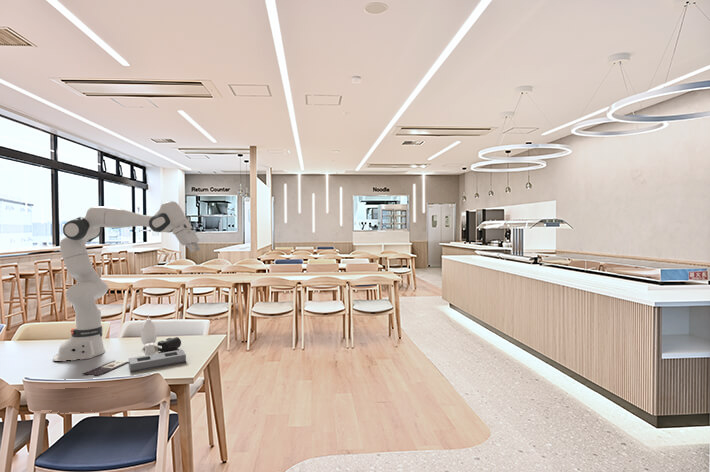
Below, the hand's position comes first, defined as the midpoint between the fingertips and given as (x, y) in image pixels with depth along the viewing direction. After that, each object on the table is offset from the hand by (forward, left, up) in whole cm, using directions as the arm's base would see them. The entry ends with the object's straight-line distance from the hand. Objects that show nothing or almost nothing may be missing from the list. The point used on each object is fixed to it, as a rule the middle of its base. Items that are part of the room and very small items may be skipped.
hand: (195, 250), depth 213 cm
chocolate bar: (-42, -4, -55) cm, 69 cm away
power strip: (-21, -12, -54) cm, 59 cm away
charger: (-23, +2, -54) cm, 59 cm away
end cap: (-13, +7, -55) cm, 57 cm away
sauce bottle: (-21, +24, -54) cm, 63 cm away
